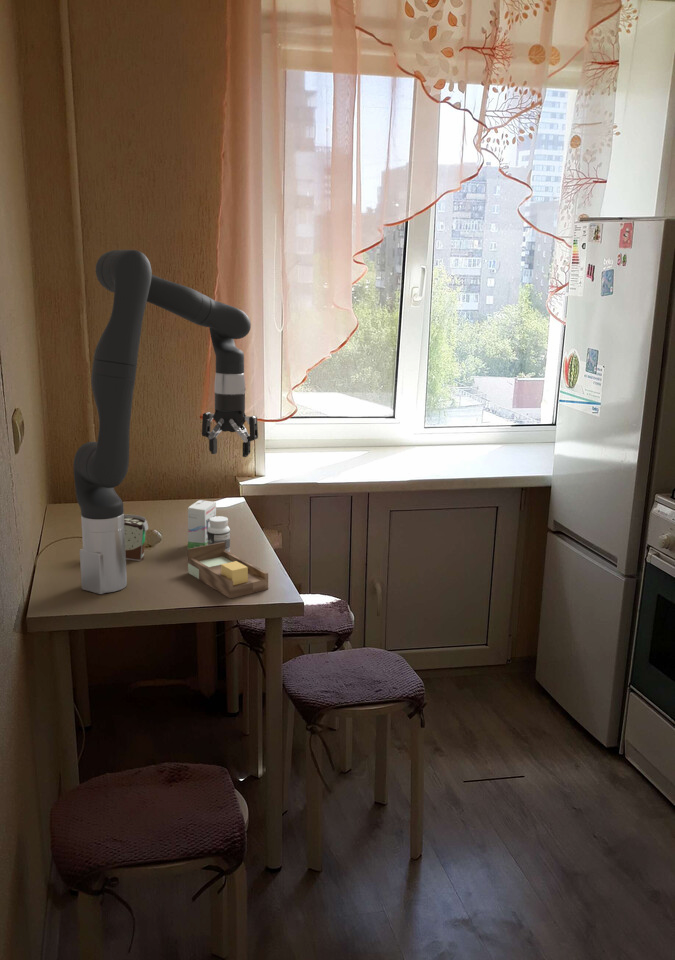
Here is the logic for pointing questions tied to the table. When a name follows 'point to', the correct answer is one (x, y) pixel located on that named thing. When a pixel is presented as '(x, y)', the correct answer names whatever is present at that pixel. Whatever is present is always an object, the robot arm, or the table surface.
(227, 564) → the ochre block
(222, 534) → the pill bottle
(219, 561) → the pad
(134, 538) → the food container
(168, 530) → the table surface
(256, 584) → the board
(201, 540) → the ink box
